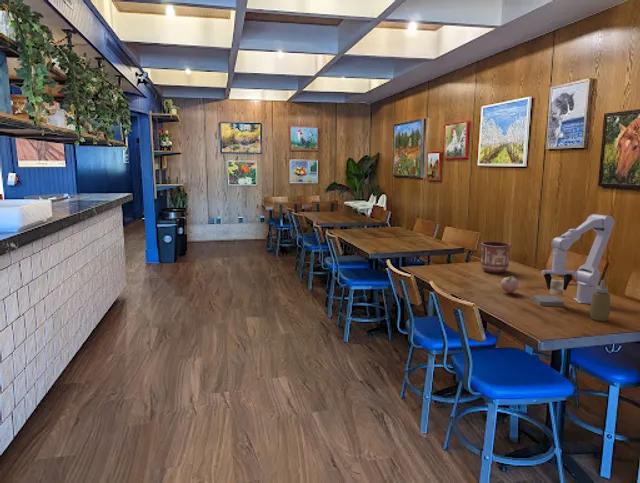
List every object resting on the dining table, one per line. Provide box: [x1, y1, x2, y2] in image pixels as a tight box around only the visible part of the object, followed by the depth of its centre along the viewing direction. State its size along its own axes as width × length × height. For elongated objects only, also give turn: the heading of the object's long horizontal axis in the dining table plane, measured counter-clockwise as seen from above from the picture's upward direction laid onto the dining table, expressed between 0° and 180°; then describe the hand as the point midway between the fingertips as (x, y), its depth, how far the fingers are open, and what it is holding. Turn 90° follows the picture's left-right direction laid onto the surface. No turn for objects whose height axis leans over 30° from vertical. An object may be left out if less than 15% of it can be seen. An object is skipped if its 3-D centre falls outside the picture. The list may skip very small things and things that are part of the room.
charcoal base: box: [532, 294, 565, 307], centre depth 230 cm, size 11×11×2 cm
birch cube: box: [549, 278, 564, 296], centre depth 225 cm, size 6×6×6 cm
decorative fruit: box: [500, 275, 519, 294], centre depth 244 cm, size 9×8×10 cm
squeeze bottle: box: [588, 279, 611, 322], centre depth 204 cm, size 8×8×18 cm
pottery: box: [480, 240, 511, 274], centre depth 292 cm, size 18×18×18 cm
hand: (556, 289), depth 225 cm, fingers closed on birch cube, 7 cm apart
